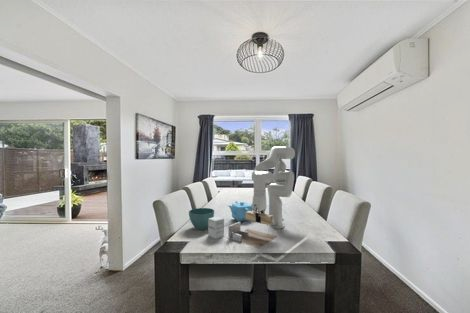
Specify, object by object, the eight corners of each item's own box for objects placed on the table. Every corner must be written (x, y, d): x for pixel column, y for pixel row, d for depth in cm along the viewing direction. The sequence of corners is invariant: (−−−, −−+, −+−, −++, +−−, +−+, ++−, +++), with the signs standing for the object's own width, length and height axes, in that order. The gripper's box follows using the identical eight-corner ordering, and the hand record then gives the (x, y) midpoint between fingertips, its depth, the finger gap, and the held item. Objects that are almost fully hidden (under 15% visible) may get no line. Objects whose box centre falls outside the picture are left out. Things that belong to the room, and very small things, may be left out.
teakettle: (248, 225, 168) (248, 205, 168) (226, 222, 175) (226, 203, 175) (256, 218, 185) (256, 200, 185) (235, 216, 192) (235, 199, 192)
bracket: (239, 234, 145) (239, 221, 145) (250, 237, 139) (250, 224, 139) (228, 239, 136) (228, 226, 136) (239, 242, 131) (239, 228, 131)
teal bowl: (209, 233, 151) (209, 215, 151) (184, 231, 155) (184, 213, 155) (217, 224, 169) (217, 208, 169) (194, 223, 172) (194, 207, 172)
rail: (249, 218, 150) (248, 210, 150) (273, 223, 139) (272, 215, 139) (245, 219, 147) (245, 212, 147) (269, 225, 136) (269, 217, 135)
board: (247, 231, 155) (247, 228, 155) (277, 238, 140) (277, 236, 140) (226, 240, 138) (226, 238, 138) (258, 250, 123) (258, 247, 123)
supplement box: (207, 238, 142) (207, 218, 142) (217, 235, 147) (216, 216, 147) (215, 241, 137) (215, 220, 136) (224, 238, 142) (224, 218, 142)
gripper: (261, 189, 150) (262, 216, 151) (247, 194, 137) (247, 223, 138) (271, 190, 146) (272, 218, 146) (257, 195, 133) (258, 226, 133)
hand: (260, 220), depth 142 cm, fingers closed on rail, 4 cm apart
